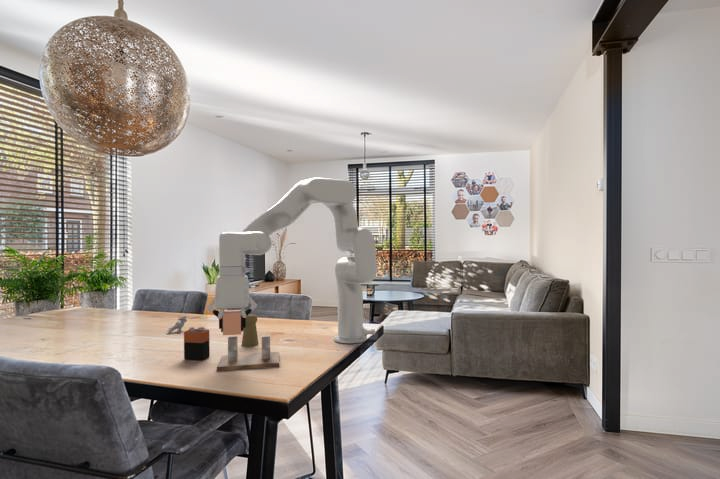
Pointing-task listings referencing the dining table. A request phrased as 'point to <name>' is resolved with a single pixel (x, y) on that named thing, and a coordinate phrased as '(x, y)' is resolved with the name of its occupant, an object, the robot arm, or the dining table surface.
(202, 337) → the battery
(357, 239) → the robot arm
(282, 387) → the dining table surface
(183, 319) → the grey animal figurine
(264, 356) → the peg stand
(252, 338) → the cork
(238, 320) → the salmon pink foam cube
